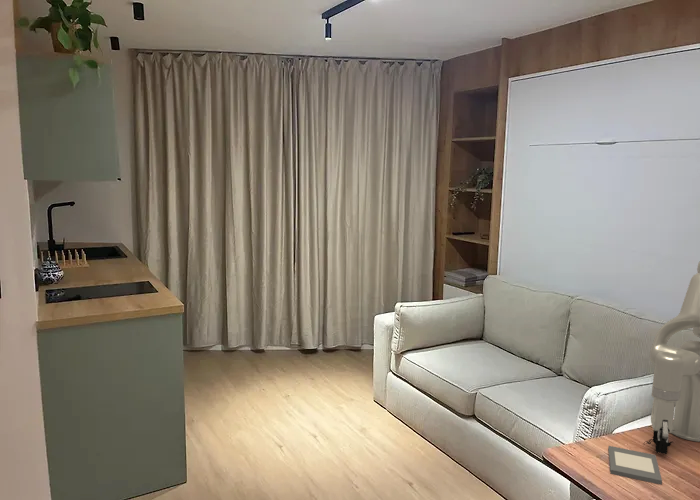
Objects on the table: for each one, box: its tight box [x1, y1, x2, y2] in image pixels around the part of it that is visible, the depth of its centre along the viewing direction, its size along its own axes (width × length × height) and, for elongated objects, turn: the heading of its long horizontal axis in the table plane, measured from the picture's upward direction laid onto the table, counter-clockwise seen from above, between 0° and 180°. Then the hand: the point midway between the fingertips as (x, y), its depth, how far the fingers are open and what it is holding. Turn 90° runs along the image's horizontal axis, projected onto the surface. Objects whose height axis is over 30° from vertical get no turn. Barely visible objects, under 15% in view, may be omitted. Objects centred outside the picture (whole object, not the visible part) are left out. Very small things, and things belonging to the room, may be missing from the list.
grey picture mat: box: [607, 445, 663, 486], centre depth 167 cm, size 16×13×1 cm
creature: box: [642, 434, 673, 454], centre depth 177 cm, size 8×5×8 cm
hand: (659, 447), depth 177 cm, fingers closed on creature, 6 cm apart
